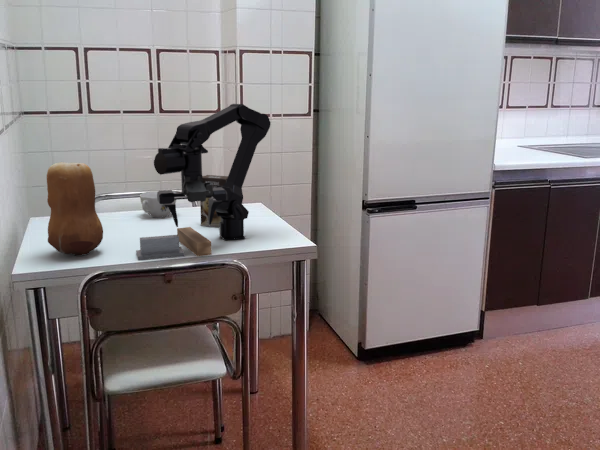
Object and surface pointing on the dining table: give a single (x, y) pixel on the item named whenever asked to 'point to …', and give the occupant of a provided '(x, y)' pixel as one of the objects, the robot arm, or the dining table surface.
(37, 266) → the dining table surface
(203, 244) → the batten
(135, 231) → the dining table surface
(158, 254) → the ridge
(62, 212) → the butternut squash
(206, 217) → the coffee box
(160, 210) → the teacup
